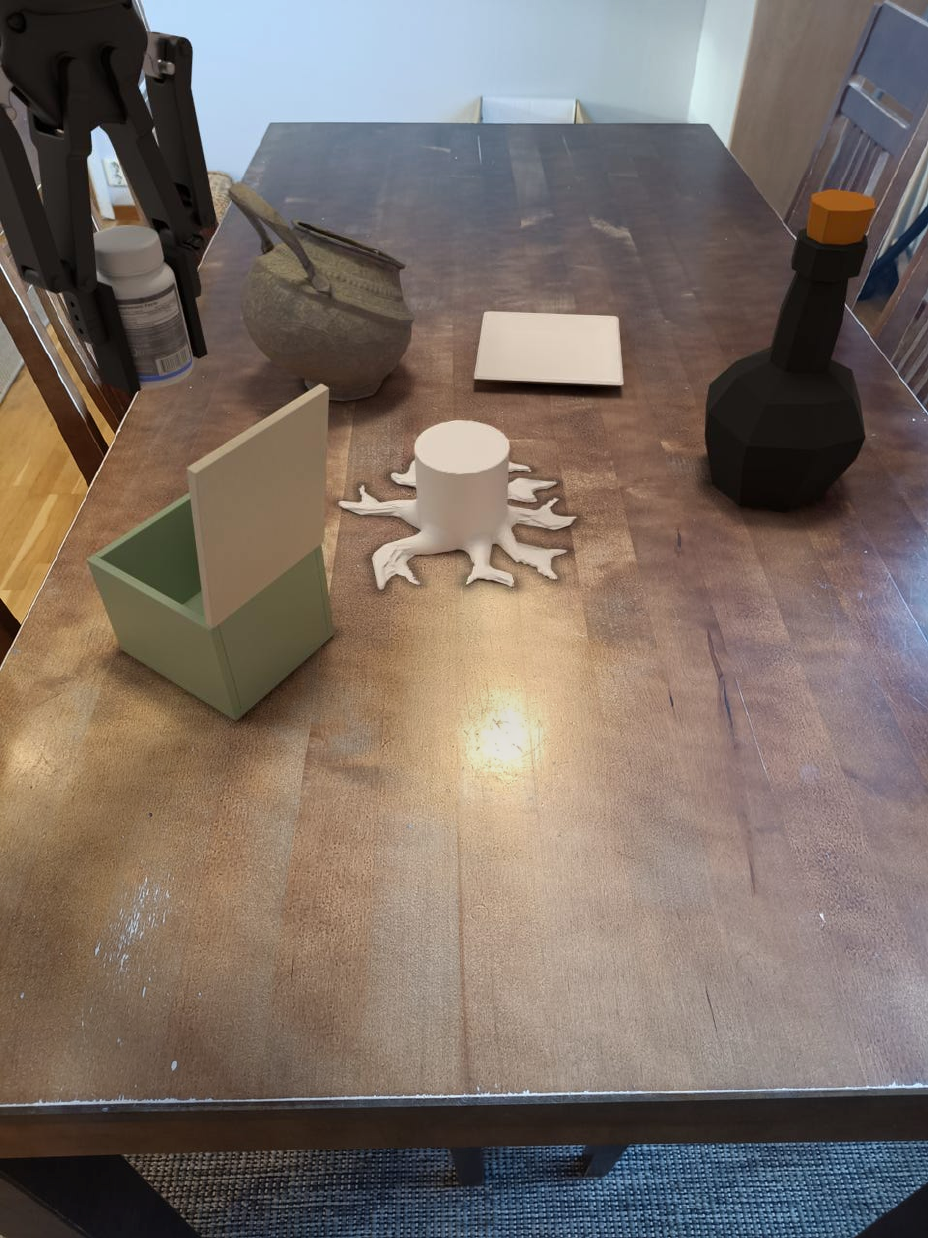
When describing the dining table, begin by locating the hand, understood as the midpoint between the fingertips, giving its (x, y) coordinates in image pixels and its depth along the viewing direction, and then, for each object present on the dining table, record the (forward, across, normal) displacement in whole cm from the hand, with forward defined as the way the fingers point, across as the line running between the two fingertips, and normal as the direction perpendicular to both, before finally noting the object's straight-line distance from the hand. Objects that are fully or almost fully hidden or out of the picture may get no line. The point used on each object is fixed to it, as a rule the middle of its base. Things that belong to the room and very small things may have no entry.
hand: (156, 366), depth 57 cm
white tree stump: (+31, -30, +2) cm, 43 cm away
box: (+31, -3, -5) cm, 31 cm away
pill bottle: (0, 0, 0) cm, 0 cm away
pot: (+31, -44, -27) cm, 60 cm away
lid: (+12, -3, +3) cm, 13 cm away
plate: (+31, -65, -8) cm, 73 cm away
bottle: (+31, -55, +26) cm, 68 cm away
